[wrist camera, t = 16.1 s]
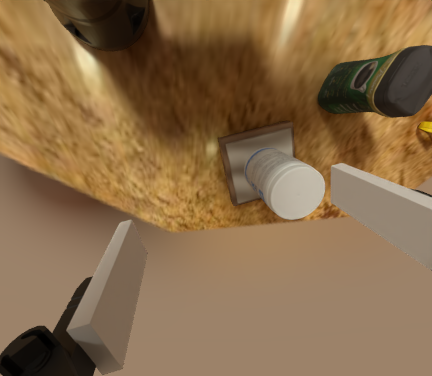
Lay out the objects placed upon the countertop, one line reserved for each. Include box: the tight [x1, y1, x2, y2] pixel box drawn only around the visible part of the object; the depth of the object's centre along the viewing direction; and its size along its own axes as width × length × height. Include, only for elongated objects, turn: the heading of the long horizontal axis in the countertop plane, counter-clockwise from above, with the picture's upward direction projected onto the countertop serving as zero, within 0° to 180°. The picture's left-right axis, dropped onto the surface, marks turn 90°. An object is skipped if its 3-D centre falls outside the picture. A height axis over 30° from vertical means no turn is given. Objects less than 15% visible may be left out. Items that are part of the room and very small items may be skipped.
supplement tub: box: [244, 147, 325, 220], centre depth 40 cm, size 10×10×15 cm
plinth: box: [218, 121, 295, 206], centre depth 48 cm, size 16×16×4 cm
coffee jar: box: [318, 45, 432, 118], centre depth 38 cm, size 10×8×19 cm
